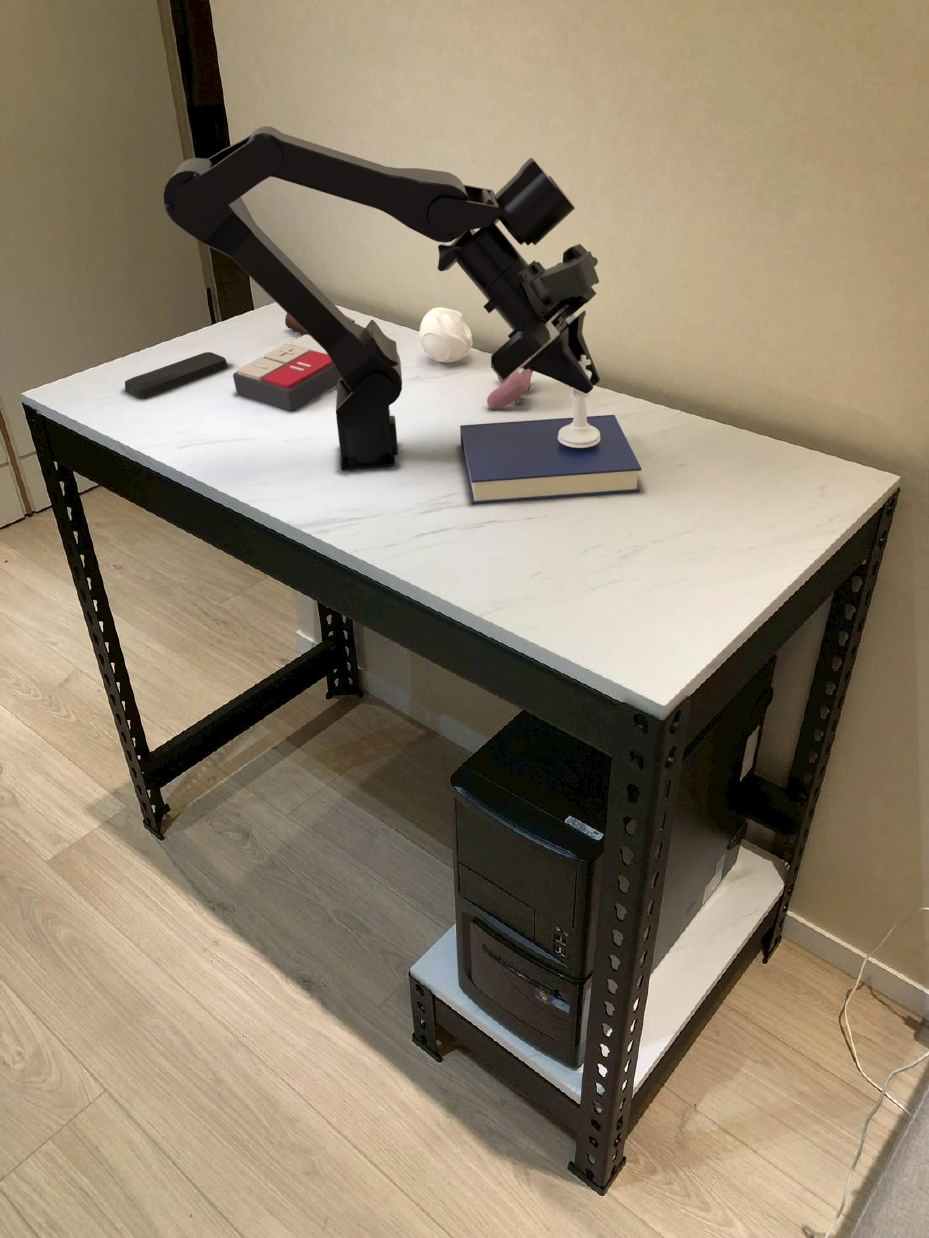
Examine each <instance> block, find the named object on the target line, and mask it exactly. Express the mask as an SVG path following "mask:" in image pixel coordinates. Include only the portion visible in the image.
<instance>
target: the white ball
mask: <svg viewBox="0 0 929 1238" xmlns="http://www.w3.org/2000/svg"><path fill="white" fill-rule="evenodd" d="M418 332H419V333H418V334H419V341H420V345H421V347H422V350H423V351H424V353H425V354H426V355H427V357H429V358H431V359H432V360H434V361H436V362H439V363H445V364H448V363H456V362H458V361H460V360H461V359H463V358H465V357H466V356H467V355H468V354H469V353H470V350H471V348H472V347H473V335H472V334H473V333H472V329H470V328H469V326H468V325H467V323H466V321H464V320H463V312H460V311H457V310H455V309H451V308H448V307H447V308H446V307H434V308H431V309H430V310H429V311H428V312H426V314H425V315H424V317H423V318H422V320H421V322H420V325H419V331H418Z"/></svg>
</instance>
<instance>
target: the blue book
mask: <svg viewBox="0 0 929 1238" xmlns="http://www.w3.org/2000/svg"><path fill="white" fill-rule="evenodd" d="M573 418H574V417H564V418H563V417H562V418H548V419H533V420H518V421H517V420H516V421H504V422H489V423H476V424H461V425H459V431H460V432H459V433H460V450H461V455H462V460H463V465H464V469H465V470H464V471H465V475H466V480H467V485H468V490H469V495H470V500H471V504H472V505H480V504H494V503H508V502H521V501H533V500H546V499H547V500H548V499H560V498H572V497H573V498H575V497H587V496H602V495H615V494H627V493H628V494H630V493H639V492H640V488H639V485H638V476H639V472H641V471H642V466H641V465H640V463H639V460H638V459H637V457H636V455H635V453H634V451H633V449H632V447H631V444H630V443H629V441H628V439H627V437H626V435H625V433H624V430H623V429H622V427H621V425H620V423H619V420H618V419H617V417H616V414H605V415H591V416H588V415H587V423H588V424H589V425H591V426H593V427H595V428H596V429H598V430H599V432H600V441H599V443H597V444H596V445H594V446H591V447H586V448H574V447H569V446H566V445H564V444H562V443H560V442H559V440H558V435H559V430H560V429H561V428H562V427H564V426H567V425H570V423H572V422H573Z"/></svg>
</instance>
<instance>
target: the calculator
mask: <svg viewBox="0 0 929 1238" xmlns="http://www.w3.org/2000/svg"><path fill="white" fill-rule="evenodd" d="M232 377H233V383H234V387H235V391H236V394H237V395H240V396H243V397H245V398H248V399H252V400H255V401H258V402H262V403H264V404H268V405H271V406H274V407H277V408H280V409H283V410H287V411H290V412H294V411H296V410H297V409H299V408H302V407H303V406H305V405H306V404H308V403H310V402H311V401H313V400H315V399H316V398H318V397H320V396H321V395H323V394H325V393H327V392H329V390H331V389H333V388H335V387H337V383H338V381H339V380H340V379H341V377H340V375H339V373H338V371H337V370H336V368H335V366H334V364H333V362H332V361H331V359H330V357H329V355H328V354H327V352H326V351H325V350H324V349H323V348H322V347H321V346H320V345H319V344H318V343H317V342H316V341H315V340H314V339H313V338H312V337H311V336H310V335H306V334H302V335H301V336H300V337H298V338H295V339H294V340H292V341H290V342H289V343H284V344H282V345H280V346H278V347H276V348H274V349H273V350H271V351H269V352H267V353H265V354H263V357H257V358H256V359H254V360H252V361H250V362H248V363H246V364H244V365H242V366H241V367H239V368H237V369H236V372H234V373H233V374H232Z"/></svg>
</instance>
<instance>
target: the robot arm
mask: <svg viewBox="0 0 929 1238" xmlns="http://www.w3.org/2000/svg"><path fill="white" fill-rule="evenodd" d="M269 178H275V179H279V180H282V181H286V182H289V183H292V184H296V185H298V186H301V187H305V188H308V189H311V190H315V191H317V192H322V193H325V194H327V195H331V196H334V197H337V198H341V199H344V200H347V201H350V202H354V203H357V204H360V205H363V206H365V207H366V206H367V207H370V208H372V209H376V210H379V211H381V212H383V213H385V214H387V215H389V216H391V217H392V218H393V219H395V220H397V221H398V222H400V223H401V224H403V226H405V227H406V228H409V229H410V230H412V231H414V232H416V233H418V234H420V235H422V236H425V237H426V238H428V239H430V240H432V241H435V242H437V243H441V244H439V245H438V246H437V250H438V263H437V270H438V271H439V272H446V271H449V270H450V269H451V268H452V267H453V266H454V265H455V264H456V263H457V265H458V266H459V267H460V268H461V270H462V271H463V272H464V273H465V274H466V275H467V276H468V278H469V280H471V282H473V284H474V285H475V286H476V287H477V289H478V290H479V292H481V294H482V295H483V296H484V297H485V298H486V300H487V302H486V303H485V304H484V305H483V308H484V309H485V311H486V312H487V313H488V314H491V313H493V311H496V312H497V313H498V314H499V315H500V317H501V318H502V320H504V322H505V323H506V324H507V325H508V326H509V328H510V329H511V330H512V331H511V332H510V333H509V334H508V335H507V337H508V340H507V341H506V342H505V343H504V344H502V345H501V347H499V348H498V349H497V350H496V351H495V352H494V353H493V354H491V356H490V369H492V371H493V372H494V373H495V375H496V376H497V377H498V376H499V378H500V379H501V380H502V381H503V380H504V379H505V378H507V377H508V376H509V375H510V374H511V373H512V372H514V371H515V370H516V369H517V368H518V367H519V366H521V365H522V364H523V363H524V362H525V361H526V360H528V359H530V360H529V361H528V362H527V363H526V364H525V365H524V366H523V367H522V368H523V369H524V370H527V369H530V370H533V372H535V373H538V374H540V375H543V376H546V377H548V378H551V379H553V380H555V381H557V382H560V383H562V384H564V385H566V386H568V387H570V388H573V389H577V390H579V391H581V392H583V393H586V394H587V393H589V392H590V393H591V391H592V390H593V389H594V386H596V385H597V384H598V383H599V382H600V381H601V378H600V375H599V373H598V370H597V368H596V366H595V363H594V361H593V358H592V356H591V353H590V350H589V349H588V346H587V343H586V340H585V337H584V334H583V329H584V322H585V318H586V315H587V312H586V310H585V309H583V311H582V312H580V313H579V314H578V315H575V314H576V312H577V311H579V310H580V309H581V308H582V307H583V306H584V305H586V304H587V303H589V302H590V301H591V300H592V299H593V298H594V297H595V296H596V295H597V294H598V293H597V292H596V291H595V290H594V288H593V286H594V285H598V284H599V283H600V279H599V276H598V274H597V271H596V268H595V267H596V266H597V265H598V262H599V260H598V258H597V257H595V256H593V255H592V252H591V250H590V251H588V250H587V249H586V248H585V247H584V246H583V245H582V244H581V243H578V244H575V245H573V246H570V247H568V248H567V249H565V250H564V252H563V253H562V262H558V263H557V264H555V265H554V266H551V267H549V268H545V267H544V266H543V265H542V264H541V262H539V261H536V260H535V259H534V260H532V262H530V263H528V262H527V260H525V258H524V257H523V256H522V255H521V253H520V252H519V251H518V250H517V249H516V248H515V246H514V245H513V244H512V242H511V241H510V240H509V239H508V237H507V236H506V235H505V234H504V232H503V231H502V230H501V228H499V226H498V225H497V224H498V223H499V222H501V224H502V225H503V227H504V228H505V229H506V231H507V232H508V233H509V234H510V235H511V236H512V238H513V239H514V240H515V241H516V242H517V243H518V244H519V245H520V246H522V245H523V244H526V246H530V245H531V244H533V245H534V246H536V245H537V244H538V243H539V242H541V241H542V240H543V239H544V238H545V237H546V236H547V235H548V234H550V232H552V231H553V230H554V229H555V228H556V227H557V226H558V225H559V224H561V222H562V221H563V220H565V219H566V218H567V216H569V215H570V214H571V213H572V212H573V211H574V210H575V209H576V206H575V205H574V204H573V203H572V201H571V200H570V199H569V197H568V196H567V194H565V192H564V191H563V190H562V188H561V186H559V184H557V182H556V181H555V180H554V178H553V177H552V176H551V175H548V174H547V173H546V172H545V170H544V169H543V168H542V167H541V166H540V165H539V164H538V163H537V161H536V160H535V159H534V158H533V157H529V158H528V159H527V160H526V161H525V162H524V163H523V164H522V165H521V166H520V168H519V170H518V171H517V172H516V174H515V175H513V177H512V178H511V179H509V180H508V182H506V183H505V184H504V185H503V186H502V187H501V188H500V189H499V190H498V191H497V192H496V193H495V191H494V190H493V189H490V188H484V187H480V186H475V185H474V186H473V185H468V184H464V183H463V181H462V180H461V179H460V178H459V177H458V176H457V175H455V174H453V173H451V172H448V171H444V170H443V171H442V170H435V169H428V168H419V167H415V168H414V167H393V166H392V167H391V166H387V165H383V164H380V163H377V162H374V161H370V160H368V159H365V158H361V157H358V156H356V155H351V154H348V153H345V152H342V151H340V150H337V149H333V148H330V147H327V146H324V145H320V144H317V143H315V142H311V141H308V140H305V139H302V138H299V137H296V136H293V135H290V134H286V133H283V132H282V131H280V130H278V129H277V128H275V127H273V126H266V125H264V126H261V127H258V128H256V129H255V130H254V131H252V133H251V134H250V135H248V136H246V137H245V138H243V139H241V140H239V141H237V142H235V143H233V144H231V145H230V146H227V147H226V148H223V149H222V150H220V151H219V152H217V153H216V154H213V155H212V156H210V157H209V158H202V157H201V158H200V157H192V158H188V159H185V160H184V161H183V162H181V163H180V164H179V165H178V166H177V168H176V169H175V171H174V172H173V173H172V175H171V176H170V178H169V180H168V181H167V183H166V184H165V186H164V191H163V204H164V209H165V211H166V214H167V216H168V217H169V218H170V219H171V221H172V222H173V223H174V224H175V225H176V226H178V227H179V228H180V229H182V230H183V231H185V232H186V233H187V234H189V235H190V236H192V237H193V238H194V239H196V240H197V241H199V242H200V243H201V244H203V245H205V246H207V247H209V248H211V249H213V250H215V251H217V252H220V253H221V254H223V255H226V256H227V257H229V258H230V259H231V260H233V262H235V264H236V265H238V267H239V268H240V269H242V270H243V271H244V272H245V274H247V275H248V276H249V277H250V279H252V280H253V281H254V282H255V283H256V284H257V285H258V286H259V287H260V288H261V289H262V290H263V291H264V292H265V293H266V294H267V295H268V296H269V297H270V298H271V299H272V300H273V301H274V302H275V303H276V304H278V306H280V307H281V309H282V310H283V311H285V312H286V314H287V313H288V314H289V315H290V316H291V317H292V318H293V319H294V320H295V321H296V322H297V323H298V324H299V325H300V326H301V327H302V328H303V329H304V330H305V331H306V332H307V333H308V334H309V335H310V336H311V337H312V338H313V339H314V340H315V341H316V342H317V343H318V344H319V345H320V346H321V347H322V348H323V349H324V350H325V351H326V352H327V354H328V355H329V357H330V359H331V361H332V362H333V364H334V366H335V368H336V370H337V371H338V373H339V375H340V377H341V379H340V380H339V381H338V383H337V385H336V401H335V415H336V417H335V418H336V427H337V435H338V443H339V453H340V456H339V459H340V460H339V464H340V465H339V467H340V468H339V469H340V470H341V471H343V472H344V471H346V472H347V471H349V472H350V471H361V470H374V469H389V468H394V467H395V466H396V460H395V459H396V458H395V457H397V456H398V455H399V447H398V436H397V434H398V433H397V422H396V416H394V415H391V412H390V411H391V409H390V406H392V405H393V404H394V403H395V402H396V401H397V400H398V398H400V395H401V393H402V390H403V376H402V375H403V374H402V363H401V358H400V354H399V352H398V349H397V347H398V346H397V342H396V341H395V340H394V339H392V338H389V337H388V336H387V335H385V334H384V332H383V331H382V330H381V327H380V326H379V325H378V323H377V322H376V321H375V320H374V319H371V320H370V321H369V322H368V323H367V325H366V326H361V325H360V324H358V323H356V322H352V321H351V320H349V319H348V318H347V317H348V316H347V315H345V314H344V313H343V312H342V311H341V310H340V309H339V308H338V306H336V305H335V303H334V302H332V301H331V299H330V298H328V297H327V295H325V294H324V292H323V291H322V290H321V289H320V288H319V287H318V286H317V285H316V284H315V283H314V282H313V281H312V280H311V279H310V278H309V277H308V276H307V275H306V274H305V272H303V271H302V270H301V269H300V268H299V267H298V266H297V265H296V263H294V262H293V260H292V259H290V258H289V257H288V255H287V254H286V253H285V252H284V251H283V250H282V249H281V248H280V247H279V246H278V245H277V244H276V243H275V242H274V241H273V240H272V239H271V238H270V237H269V236H268V235H267V234H266V233H265V232H264V231H263V230H262V229H261V228H260V227H259V225H258V224H257V223H256V221H255V220H254V218H253V217H252V214H251V212H250V211H249V209H248V207H247V206H246V203H245V202H244V200H243V198H242V196H243V195H245V194H247V193H248V192H250V190H252V189H253V188H255V187H257V185H259V184H260V183H262V182H263V181H265V180H267V179H269ZM442 243H443V244H442ZM445 243H451V244H445ZM346 316H347V317H346ZM581 355H585V356H586V360H587V359H589V360H591V364H590V365H586V369H587V370H589V371H590V372H591V373H592V375H591V378H590V380H589V378H588V376H587V375H586V373H585V372H584V370H583V368H582V367H581V365H580V364H579V362H578V361H581Z"/></svg>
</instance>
